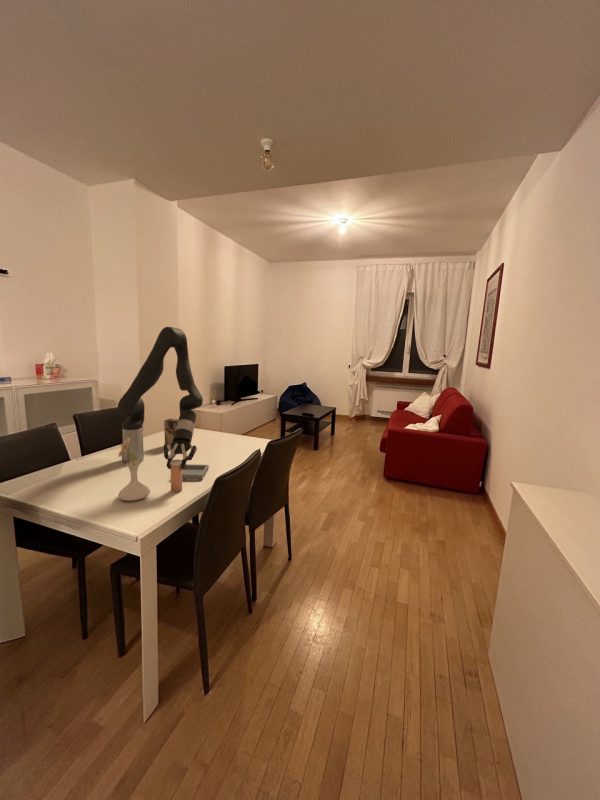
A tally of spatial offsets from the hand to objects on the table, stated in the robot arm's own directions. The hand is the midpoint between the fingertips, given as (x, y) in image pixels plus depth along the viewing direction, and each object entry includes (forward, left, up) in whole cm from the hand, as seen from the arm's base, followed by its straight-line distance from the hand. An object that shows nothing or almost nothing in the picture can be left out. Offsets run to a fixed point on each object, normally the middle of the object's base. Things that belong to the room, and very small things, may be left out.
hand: (175, 468), depth 134 cm
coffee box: (-21, +62, -10) cm, 66 cm away
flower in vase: (-14, -6, -10) cm, 19 cm away
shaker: (0, +1, -10) cm, 10 cm away
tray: (+1, +19, -10) cm, 22 cm away
